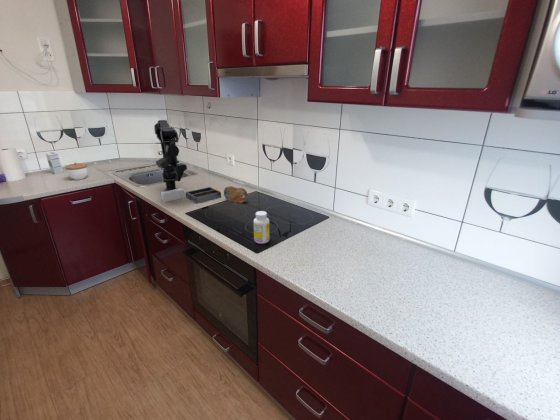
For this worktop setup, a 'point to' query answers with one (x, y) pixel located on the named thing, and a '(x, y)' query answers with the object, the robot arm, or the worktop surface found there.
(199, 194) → the box
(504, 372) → the worktop surface
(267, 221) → the supplement bottle
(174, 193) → the panel
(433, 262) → the worktop surface
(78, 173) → the lidded bowl
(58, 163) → the syrup box
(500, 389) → the worktop surface
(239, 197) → the tin
